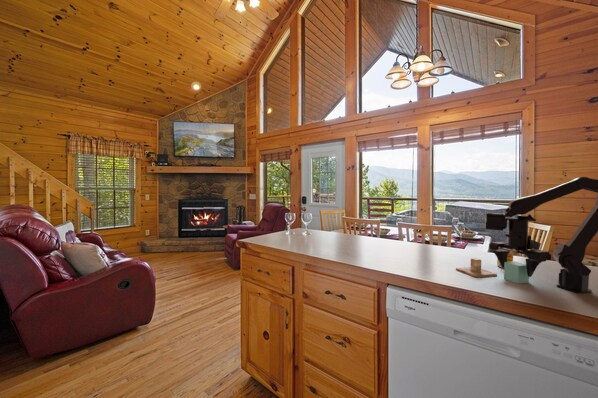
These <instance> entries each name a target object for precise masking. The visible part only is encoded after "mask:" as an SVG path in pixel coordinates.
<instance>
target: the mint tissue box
mask: <svg viewBox="0 0 598 398" xmlns="http://www.w3.org/2000/svg"><path fill="white" fill-rule="evenodd" d="M503 279H504V280H507V281H508V282H512V283H515V284H518V285H519V284H529V283H530V277H528V274H527V268H526V263H523V262H519V261H515V260H513V261H512V262H504V269H503Z"/></svg>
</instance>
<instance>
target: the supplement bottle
mask: <svg viewBox="0 0 598 398" xmlns="http://www.w3.org/2000/svg"><path fill="white" fill-rule="evenodd" d="M507 251H508V250H507ZM514 253H515V252H512V251H510V252H509V254H508V256H507V262H512V261H514ZM496 258H497V257H496ZM496 263H497V264H496V266H497V267H500V268H502V269H503V267H502V265H501V264H500V262H499V260H498V258H497V260H496Z"/></svg>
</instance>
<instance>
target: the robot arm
mask: <svg viewBox="0 0 598 398" xmlns="http://www.w3.org/2000/svg"><path fill="white" fill-rule="evenodd" d="M581 190H583V191H584V190H585V191H588V192H592V193H597V195H596V199H595V204H594V206H593V207H592V209H590V211H589V213H588V214H587V216H585V219H583V221H582V223H581V224H580V226H579V227H578V228H577V229H576V231H575V232H574V233H573V234H572V236H571V237H570V239H569V240H567V241H565V243H564V242H562V241H558V243H557V246H556V247H555V248H553V250H552V251H553V255H551V254H552V253H550V252H549V251H548V250H547V251H546V250H543V249H540V248H541V244H542V243H540V242H539V241H536V240H532V235H531V234H530V235H529V222H536V218H534V217H533V216H532V215H531V214H530V212H531V211H533V210H535V209H536V208H538V207H540V206H542V205H543V204H546V203H548V202H551V201H553V200H556V199H560V198H561V197H565V196H567V195H570V194H572V193H575V192H579V191H581ZM526 214H527V215H526ZM507 228H508V230H507V231H508V232H507V233H505V237H506V238H508V239H507V242H503V241H491V242H490V243H489V244H488V247H489V248H488V249H489V250H491V252H492V253H494V255H495V257H496V258H498V260H499V262H500V264H501V265H502V267H503V268H502V267H501V268H502V269H503V270H504V262H507V256H508V254H509V252H510V251H512V252H514V253H516V254H521V255H524V256H526V258H525V264H526V268H527V274H528V277H529V278H531V277H533V275H534V273H535V271H536V269H537V268H538V266H539V265H540V264H541V263H542V262H546V261H550V260H552V256H553V260H554V261H555V262H557V263H558V265H560V271H559V272H558V282H557V283H558V284H556V285H555V286H556V287H557V288H561V289H563V290H567V291H570V292H573V293H577V294H581V293H591V292H592V291H593V290H592V289H590V288H589V285H590V283H589V282H590V275H591V273H592V270H591V269H590V268H589V267H588V266H587V265H585V264H584V262H583V261H584V258H585V256H586V251H587V247H588V246H589V244H590V243H591V241H592V240H593V239H594V237H595V236H596V235H597V233H598V179H595V178H590V177H587V176H579V177H575V178H573V179H572V180H570V181H567V182H565V183H562V184H560V185H557V186H554V187H552V188H548V189H546V190H544V191H541V192H538V193H536V194H531V195H526V196H523V197H522V196H521V197H518V198H514V199H512V200H510V201H509V203H508V207H507V208H506V209H505V210H504V211H503V212H502V213H494V212H493V213H492V212H486V213H485V220H484V230H485V231H496V232H497V231H498V232H503V231H504V230H506V229H507ZM507 250H508V251H507Z"/></svg>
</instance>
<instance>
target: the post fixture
mask: <svg viewBox="0 0 598 398" xmlns="http://www.w3.org/2000/svg"><path fill="white" fill-rule="evenodd" d="M455 271H456V272H461V273H462V274H466V275H468V276H471V277H473V278H487V277H497V275H498V274H497V273H495V272H492V271H489V270H488V269H487V270H486V269H483V268H482V259H481V258H477V257H473V258H471V257H470V266H467V267H456V268H455Z"/></svg>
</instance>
